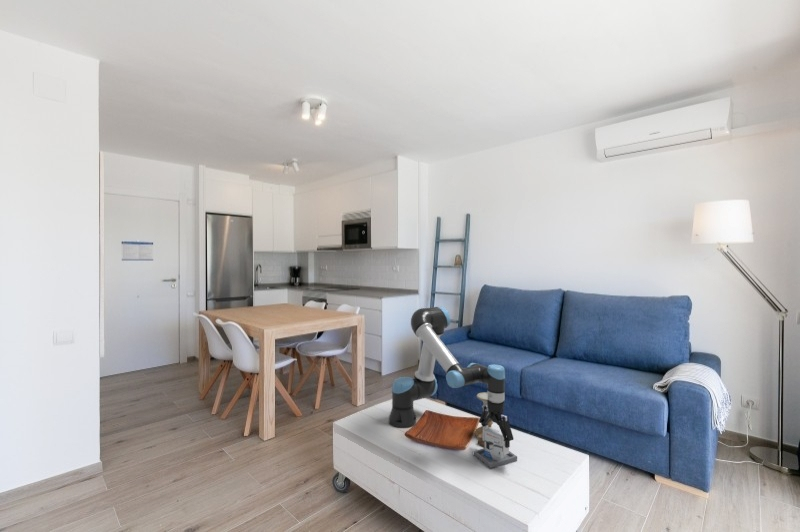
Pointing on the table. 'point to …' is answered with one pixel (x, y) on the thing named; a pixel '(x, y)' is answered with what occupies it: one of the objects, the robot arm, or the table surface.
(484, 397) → the candle holder
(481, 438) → the walnut block
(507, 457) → the tray
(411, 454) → the table surface
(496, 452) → the ink box
